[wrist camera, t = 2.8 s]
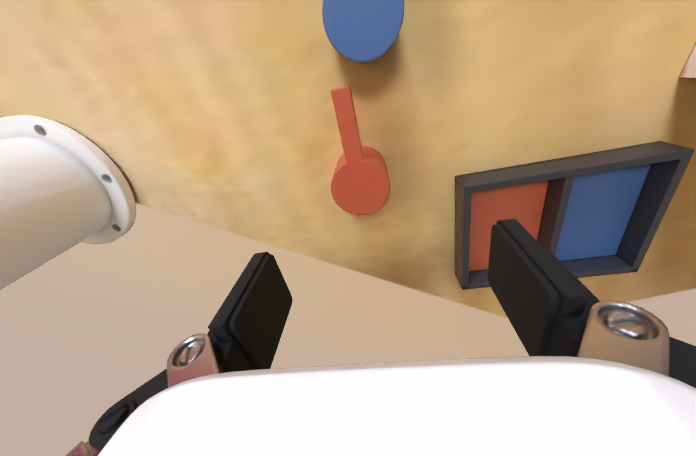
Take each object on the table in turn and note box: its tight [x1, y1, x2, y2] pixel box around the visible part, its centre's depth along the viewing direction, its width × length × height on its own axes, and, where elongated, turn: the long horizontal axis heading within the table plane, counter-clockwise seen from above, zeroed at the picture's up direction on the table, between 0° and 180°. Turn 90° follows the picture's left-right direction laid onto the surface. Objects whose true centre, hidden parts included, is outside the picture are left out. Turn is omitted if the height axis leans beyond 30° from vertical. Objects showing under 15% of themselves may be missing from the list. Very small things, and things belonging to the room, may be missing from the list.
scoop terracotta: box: [331, 86, 390, 215], centre depth 20 cm, size 4×9×4 cm, turn 12°
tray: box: [455, 141, 694, 290], centre depth 23 cm, size 15×11×2 cm
